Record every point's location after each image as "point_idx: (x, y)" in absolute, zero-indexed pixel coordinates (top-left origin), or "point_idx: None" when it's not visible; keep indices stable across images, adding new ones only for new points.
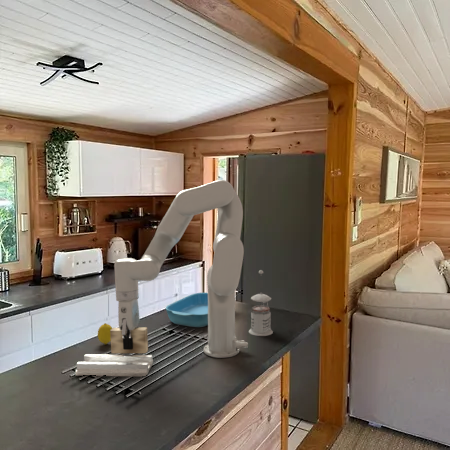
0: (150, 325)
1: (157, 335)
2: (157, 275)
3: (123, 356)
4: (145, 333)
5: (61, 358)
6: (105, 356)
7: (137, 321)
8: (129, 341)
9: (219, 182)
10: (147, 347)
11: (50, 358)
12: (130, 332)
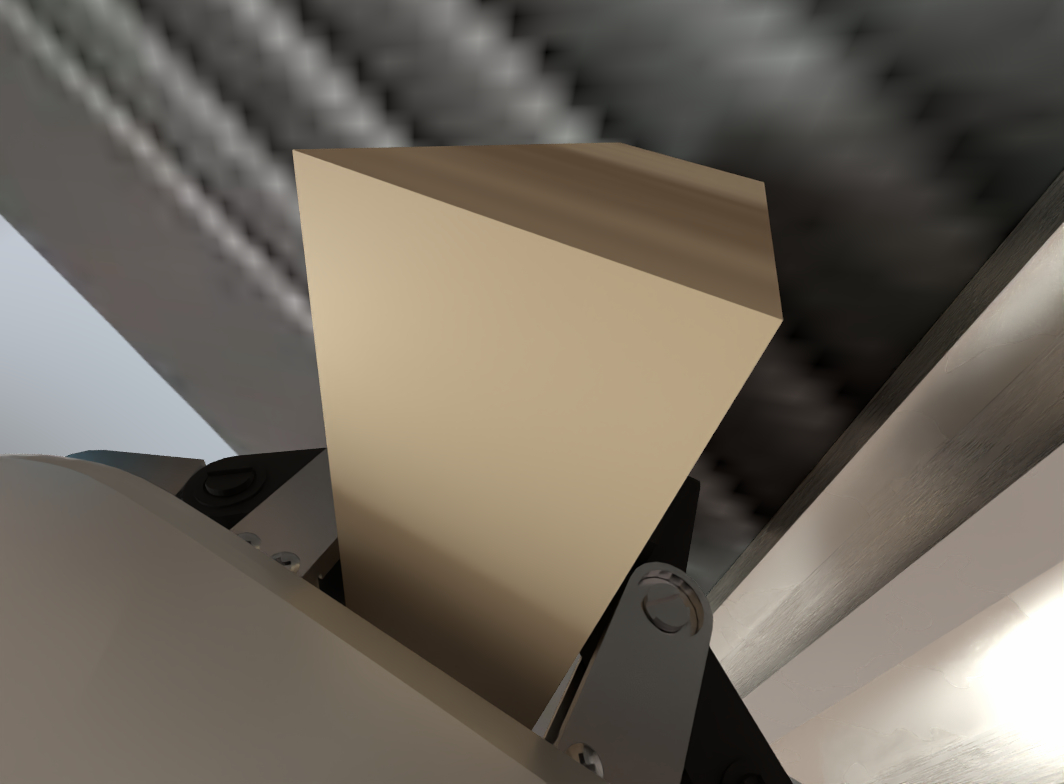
0: (8, 119)
1: (131, 25)
2: None
3: (990, 604)
4: (749, 253)
5: (545, 709)
6: (817, 713)
7: (98, 749)
8: (685, 548)
9: None
10: (645, 154)
11: (534, 732)
12: (683, 755)
